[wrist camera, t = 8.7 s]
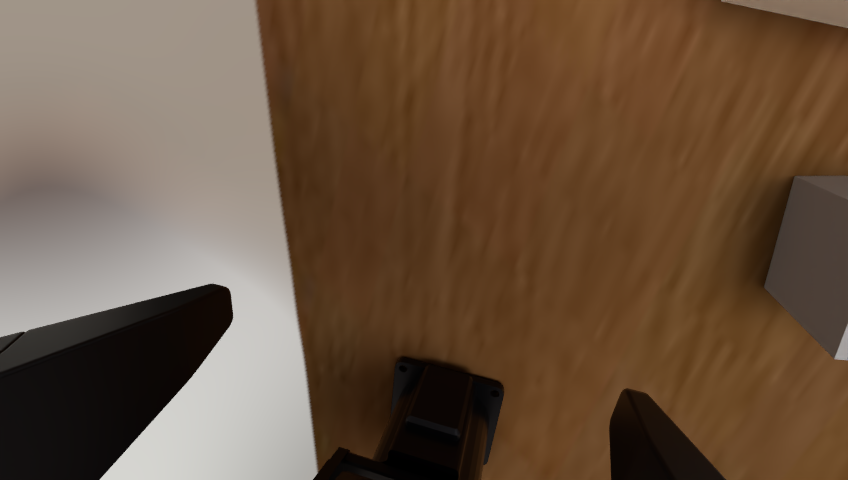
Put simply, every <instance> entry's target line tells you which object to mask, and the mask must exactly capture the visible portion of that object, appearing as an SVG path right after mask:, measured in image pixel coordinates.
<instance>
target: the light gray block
mask: <svg viewBox="0 0 848 480" xmlns="http://www.w3.org/2000/svg"><path fill="white" fill-rule="evenodd" d="M764 288H765V289H766V290H767V291H768V292H769V293H770V294H771V295H772V296H773V297H774V298H775V299H776V300H777V301H778V302H779V303H780V304H781V305H782V306H783V307H784V308H785V309H786V310H787V311H788V312H789V313H790V314H791V316H792V317H793V318H794V319H795V320H796V321H797V322H798V323H799V324H800V325H801V326H802V327H803V328H804V329H805V330H806V331H807V332H808V333H809V334H810V335H811V336H812V337H813V338H814V339H815V340H816V341H817V342H818V343H819V344H820V345H821V346H822V347H823V348H824V349H825V350H826V351H827V352H828V353H829V354H830V355H831V356H832V357H833V358H834V359H840V360H848V176H795V177H794V180H793V184H792V187H791V191H790V195H789V198H788V202H787V206H786V209H785V213H784V216H783V220H782V224H781V227H780V231H779V235H778V238H777V242H776V246H775V249H774V253H773V256H772V260H771V264H770V267H769V271H768V275H767V278H766V282H765V285H764Z"/></svg>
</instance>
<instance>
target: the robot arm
mask: <svg viewBox="0 0 848 480" xmlns="http://www.w3.org/2000/svg"><path fill="white" fill-rule="evenodd" d="M232 319H233V310H232V302H231V294H230V291H229V289H228V288H227V287H224V286H220V285H216V284H208V285H204V286H200V287H196V288H192V289H189V290H185V291H181V292H177V293H173V294H169V295H165V296H161V297H157V298H153V299H149V300H146V301H141V302H137V303H134V304H130V305H126V306H122V307H118V308H114V309H110V310H107V311H102V312H98V313H94V314H90V315H86V316H82V317H79V318H75V319H71V320H67V321H63V322H59V323H55V324H51V325H47V326H43V327H39V328H35V329H31V330H28V331H27V332H19V333H15V334H11V335H8V336H4V337H0V480H100V478H101V477H102V476H103V475H104V474H105V473H106V472H107V471H108V469H109V468H110V467H111V466H112V465H113V464H114V463H115V462H116V461H117V459H118V458H119V457H120V456H121V455H122V454H123V453H124V452H125V451H126V450H127V448H128V447H129V446H130V445H131V444H132V443H133V442H134V440H135V439H136V438H137V437H138V436H139V435H140V434H141V433H142V432H143V431H144V430H145V428H146V427H147V426H148V425H149V424H150V423H151V421H153V420H154V418H155V417H156V416H157V415H158V414H159V413H160V412H161V411H162V410H163V408H164V407H165V406H166V405H167V404H168V403H169V402H170V401H171V399H172V398H173V397H174V396H175V395H176V394H177V393H178V392H179V391H180V389H181V388H182V387H183V386H184V385H185V384H186V383H187V382H188V380H189V379H190V378H191V377H192V376H193V374H194V373H195V372H196V370H197V369H198V368H199V367H200V365H201V364H202V363H203V361H204V360H205V359H206V357H207V356H208V354H209V353H210V352H211V351H212V349H213V348H214V346H215V345H216V344H217V342H218V341H219V340H220V338H221V337H222V336H223V334H224V333H225V332H226V330H227V329H228V328H229V326H230V325H231V322H232ZM402 365H404V366H406V368H404V367H403V366H402ZM492 390H496V391H498V392H494V391H492ZM503 396H504V387H503V386H502V385H501V384H500V383H498V382H494V381H491V380H487V379H483V378H479V377H476V376H472V375H468V374H464V373H460V372H457V371H453V370H449V369H445V368H442V367H438V366H434V365H430V364H427V363H423V362H419V361H415V360H412V359H408V358H400V359H399V360H398V361H397V363H396V366H395V374H394V385H393V396H392V407H391V417H390V420H389V422H388V424H387V427H386V429H385V431H384V433H383V436H382V438H381V440H380V443H379V445H378V447H377V450H376V452H375V454H374V457H373V459H369V458H366V457H363V456H360V455H357V454H353V453H350V450H348V449H344V448H341V447H339V448H338V449H337V451H336V452H335V453H334V455H333V456H332V457H331V458H330V459H328V461H327V462H326V463H325V464H324V466H323V467H322V468H321V470H320V471H319V472H318V474H317V475H316V477H315V478H314V479H313V480H481V476H482V469H483V465H485V464H486V463H487V462H488V458H489V454H490V450H491V445H492V441H493V437H494V433H495V429H496V425H497V421H498V417H499V413H500V409H501V405H502V400H503ZM609 433H610V459H611V480H726V479H725V478H724V477H723V476H722V475H721V474H720V472H719V471H718V470H717V469H716V468H715V467H714V466H713V465H712V464H711V463H710V462H709V460H708V459H707V458H706V457H705V456H704V455H703V454H702V453H701V452H700V451H699V450H698V448H697V447H696V446H695V445H694V444H693V443H692V442H691V441H690V440H689V439H688V438H687V436H686V435H685V434H684V433H683V432H682V431H681V430H680V429H679V428H678V427H677V426H676V425H675V423H674V422H673V421H672V420H671V419H670V418H669V417H668V416H667V415H666V414H665V413H664V411H663V410H662V409H661V408H660V407H659V406H658V405H657V404H656V403H655V402H654V401H653V399H652V398H651V397H650V396H649V395H648V394H646V393H644V392H640V391H636V390H632V389H628V388H627V389H624V390H623V391H622V392H621V394H620V396H619V399H618V401H617V404H616V406H615V409H614V411H613V414H612V416H611V420H610V427H609Z"/></svg>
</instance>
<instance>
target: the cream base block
mask: <svg viewBox="0 0 848 480" xmlns="http://www.w3.org/2000/svg"><path fill="white" fill-rule="evenodd" d="M721 1H722V2H727V3H731V4H736V5H741V6H746V7H750V8H755V9H760V10H765V11H769V12H774V13H779V14H783V15H788V16H793V17H798V18H802V19H807V20H812V21H817V22H821V23H826V24H831V25H835V26H840V27H845V28H848V0H721Z"/></svg>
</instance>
